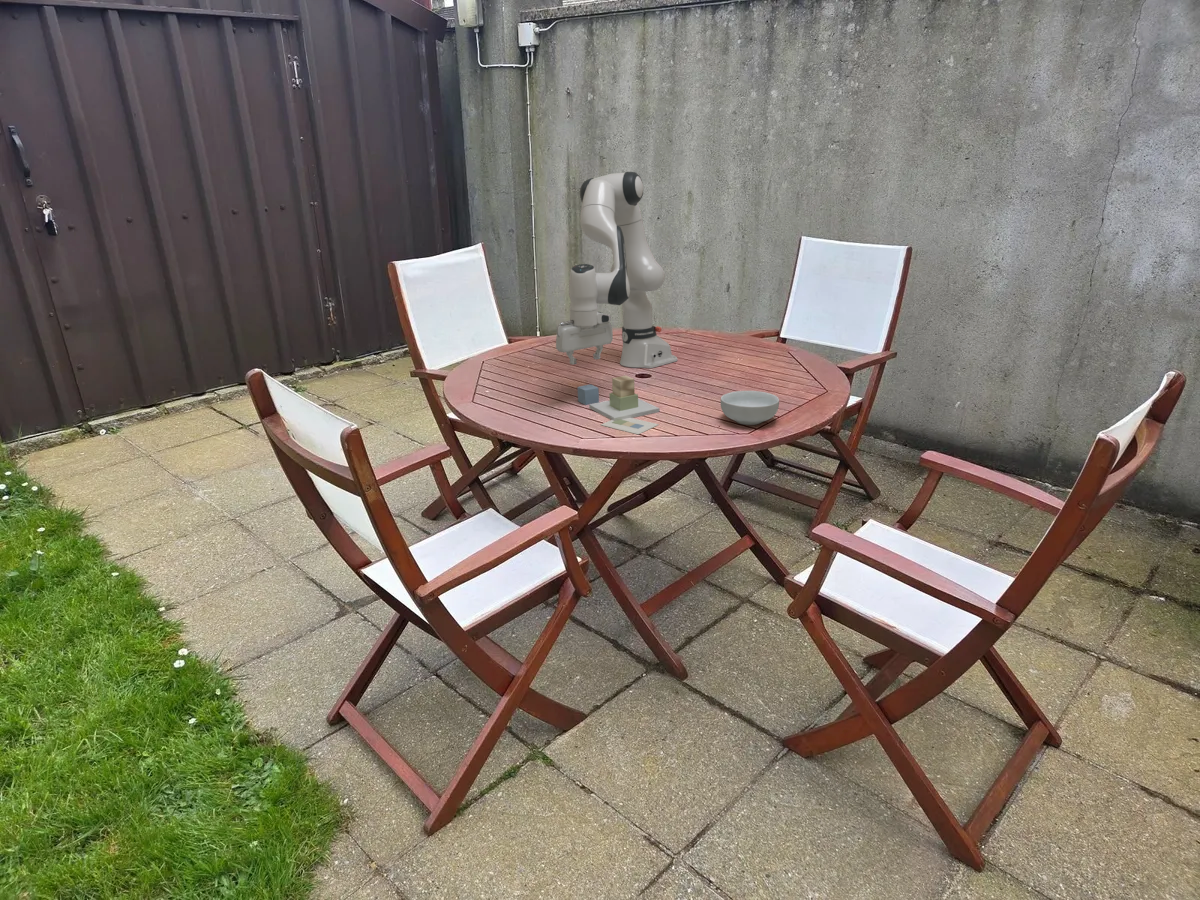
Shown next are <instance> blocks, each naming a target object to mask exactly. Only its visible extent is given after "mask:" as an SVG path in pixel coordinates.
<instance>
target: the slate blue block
mask: <svg viewBox="0 0 1200 900" xmlns="http://www.w3.org/2000/svg"><path fill="white" fill-rule="evenodd" d="M599 388H600V387H597V386H595V385H593V384H591V383H590V384H586V385H585V384H584V385H580V386H577V402H578V403H581V404H582V405H584V406H589V404H594V403H599V402H600V398H599V397H600V395H599V394H600V393H599V391H600V389H599Z"/></svg>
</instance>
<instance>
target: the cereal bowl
mask: <svg viewBox="0 0 1200 900" xmlns="http://www.w3.org/2000/svg"><path fill="white" fill-rule="evenodd" d="M779 405H780V399H779V397H778V395H775V394H773V393H770V392H766V391H765V392H764V391H759V390H738V391H731V392H728V393H725V394H722V396H721V397H720V408H721V411H722V413H723V414H724V415H725V416H726V417H727V418H729V419H731V420H733V421H735V422H736V423H737V424H740V425H746V426H756V425H759V424H761V423H763V422H765V421H768V420H771V419H773V417H774V416H775V415H776V414H777V412H778V410H779V407H780V406H779Z"/></svg>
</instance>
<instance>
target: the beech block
mask: <svg viewBox="0 0 1200 900" xmlns="http://www.w3.org/2000/svg"><path fill="white" fill-rule="evenodd" d="M611 380H612V381H611V383H612V385H611V386H612V387H611V388H612V389H611V391H612V392H611V393H613V394H614V395H617V396H619V397H626V396H630V395H635V394H636V392H635V378H633V377H630V376H628V375H621V376H616V377H612V378H611Z"/></svg>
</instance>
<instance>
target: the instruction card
mask: <svg viewBox="0 0 1200 900" xmlns="http://www.w3.org/2000/svg"><path fill="white" fill-rule="evenodd" d="M600 426H603V427H606V428H610V429H615V430H617V431H622V432H626V433H629V434H634V435H640V434H642V433H644V432H647V431H649V430H651V429H653V428H655V427H658V426H659V423H655V422H650V421H646V420H643V419H638V418H635V417H634V418H627V419H623V420H617V421H614V420H611V419H609V420H608V421H606V422H604V423H602V424H601V423H600Z"/></svg>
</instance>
